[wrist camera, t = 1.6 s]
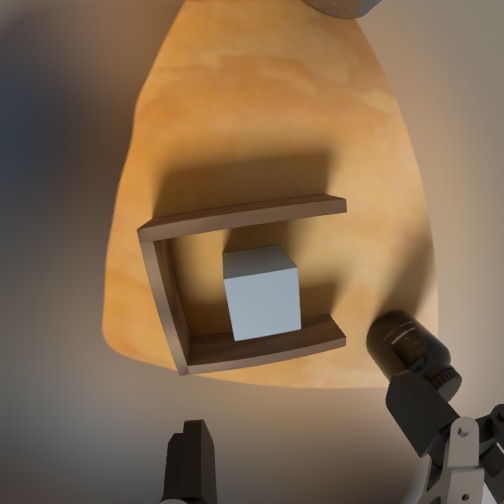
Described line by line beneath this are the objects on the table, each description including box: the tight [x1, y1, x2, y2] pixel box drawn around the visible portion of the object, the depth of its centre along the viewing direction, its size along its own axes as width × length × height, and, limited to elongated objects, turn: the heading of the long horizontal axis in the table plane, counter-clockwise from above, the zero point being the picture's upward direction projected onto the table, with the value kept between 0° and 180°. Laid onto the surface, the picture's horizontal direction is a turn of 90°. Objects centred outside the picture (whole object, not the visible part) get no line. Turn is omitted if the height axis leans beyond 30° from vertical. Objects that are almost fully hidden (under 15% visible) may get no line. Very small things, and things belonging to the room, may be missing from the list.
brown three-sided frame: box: [137, 194, 347, 375], centre depth 22 cm, size 13×15×4 cm
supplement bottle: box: [366, 310, 462, 402], centre depth 23 cm, size 7×7×12 cm
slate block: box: [222, 245, 301, 341], centre depth 22 cm, size 5×5×6 cm
